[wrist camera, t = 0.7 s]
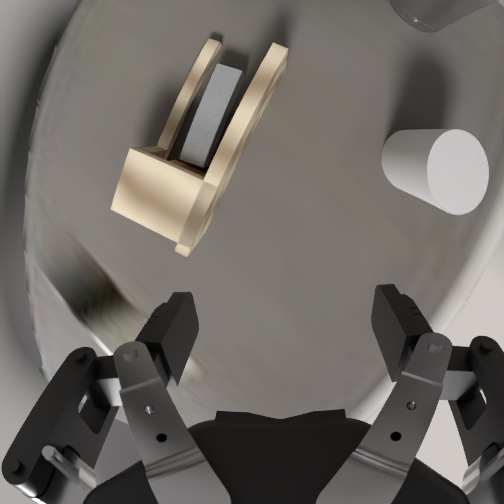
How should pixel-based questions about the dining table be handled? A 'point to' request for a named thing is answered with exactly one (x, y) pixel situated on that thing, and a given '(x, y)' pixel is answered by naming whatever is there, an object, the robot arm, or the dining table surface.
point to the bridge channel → (180, 179)
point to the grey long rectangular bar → (212, 115)
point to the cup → (438, 167)
